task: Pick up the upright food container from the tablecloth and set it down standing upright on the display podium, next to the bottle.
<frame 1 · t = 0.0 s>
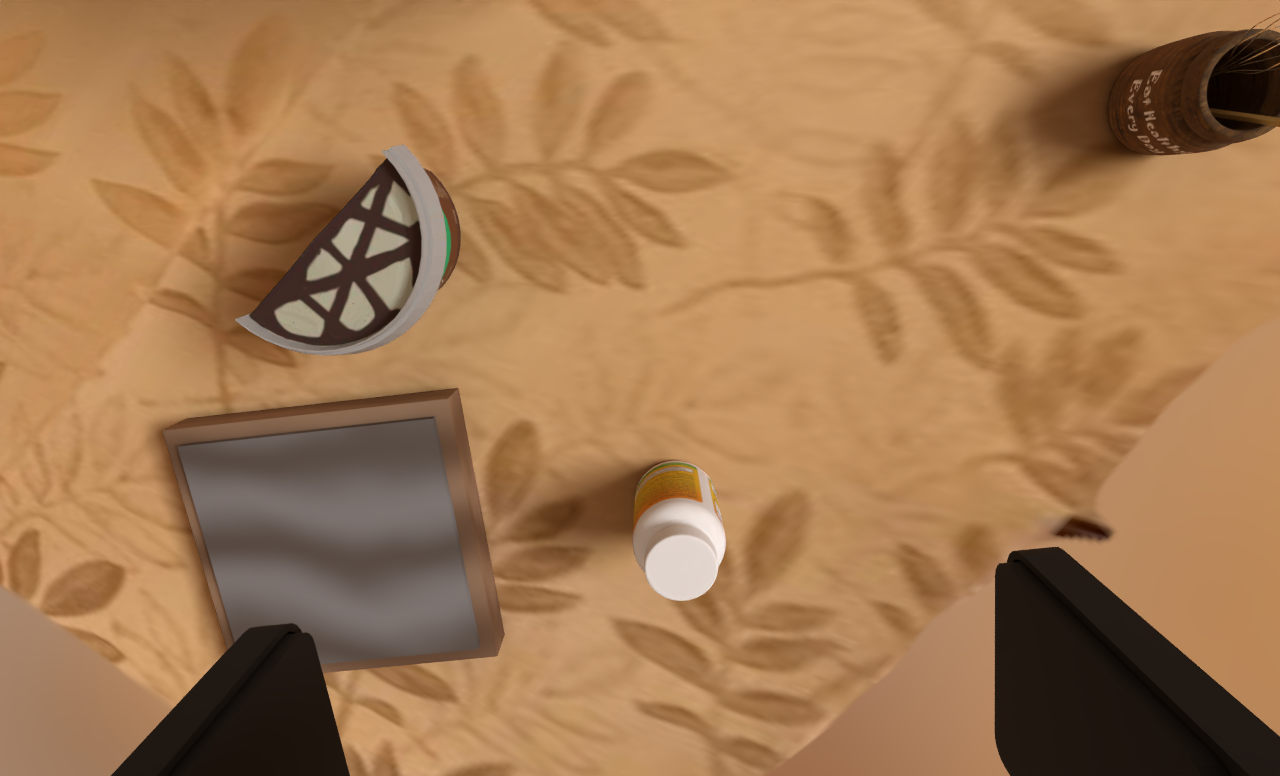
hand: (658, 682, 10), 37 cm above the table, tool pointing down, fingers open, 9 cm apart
food container: (420, 264, 45), on the table
supplement bottle: (675, 495, 49), on the table
podium: (351, 530, 50), on the table
utensil holder: (1154, 105, 42), on the table
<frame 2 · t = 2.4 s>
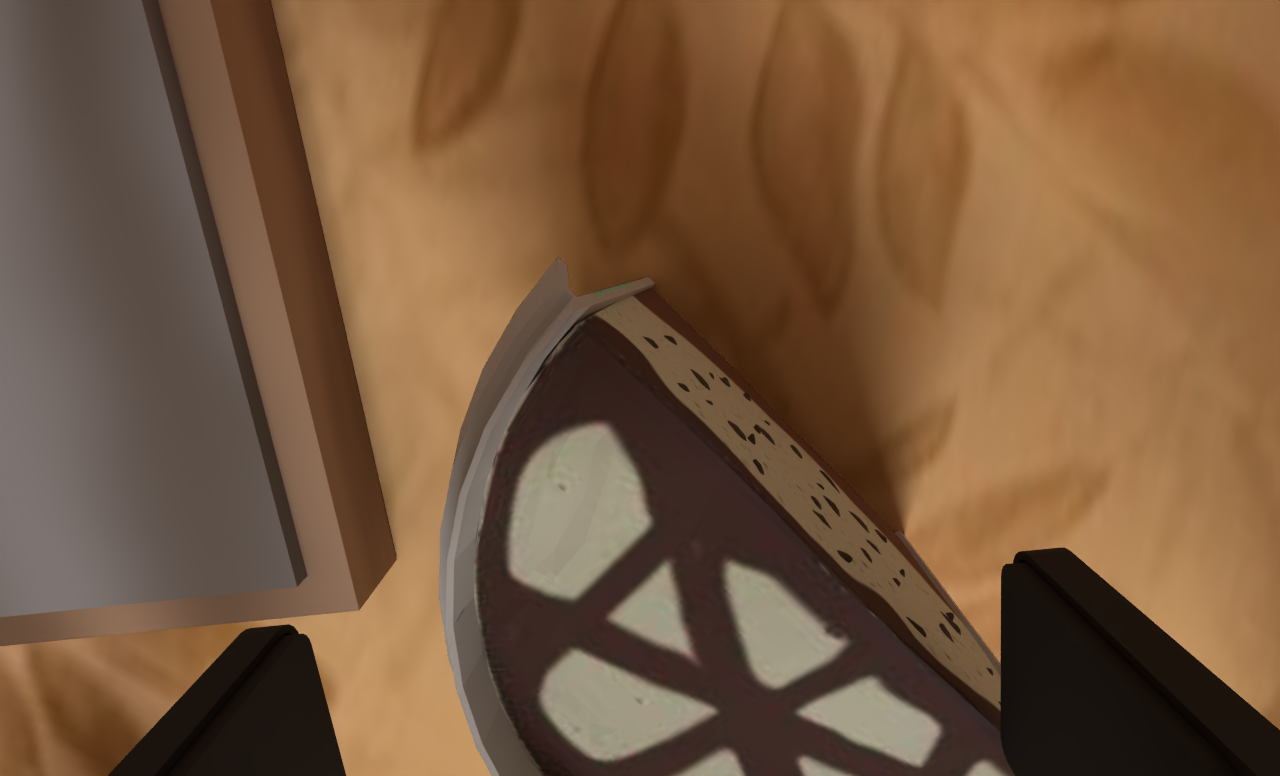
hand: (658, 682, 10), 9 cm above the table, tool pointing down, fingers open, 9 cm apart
food container: (691, 485, 19), on the table, touching gripper
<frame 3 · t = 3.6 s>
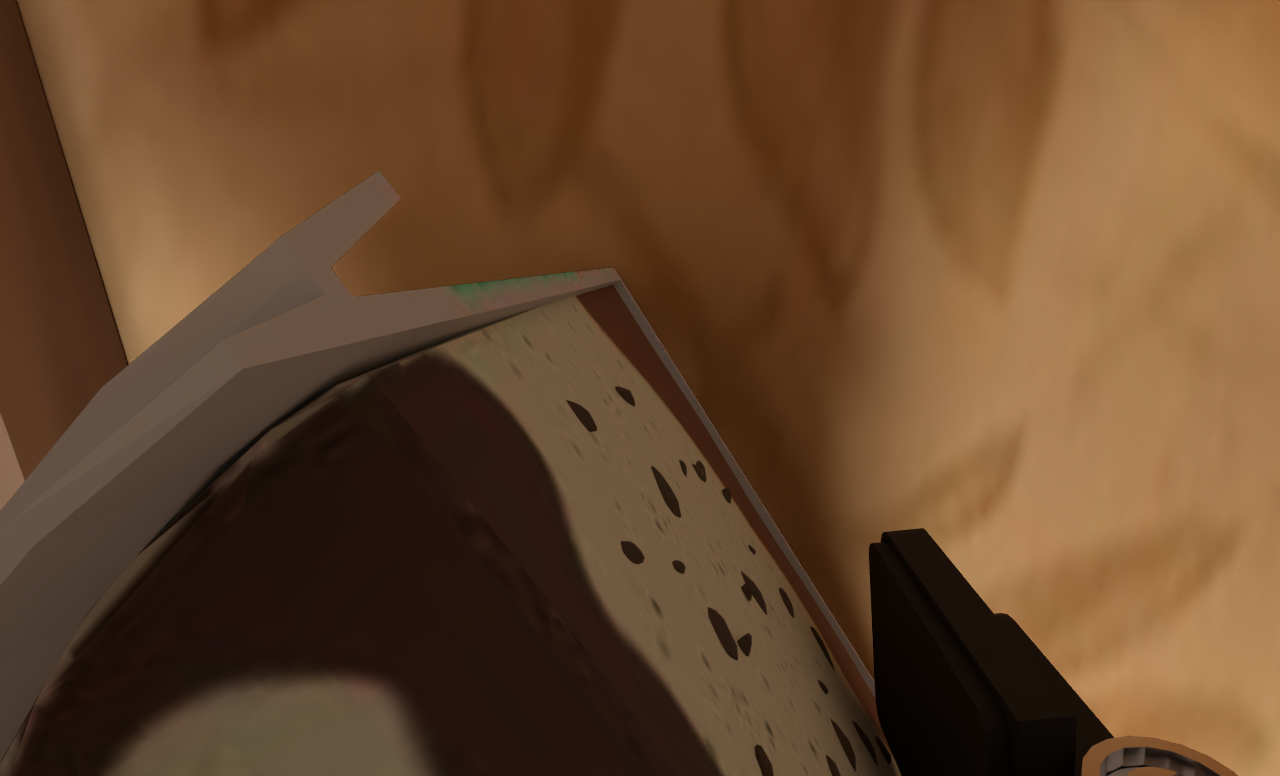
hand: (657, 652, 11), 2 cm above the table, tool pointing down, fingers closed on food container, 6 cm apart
food container: (610, 576, 13), on the table, touching gripper
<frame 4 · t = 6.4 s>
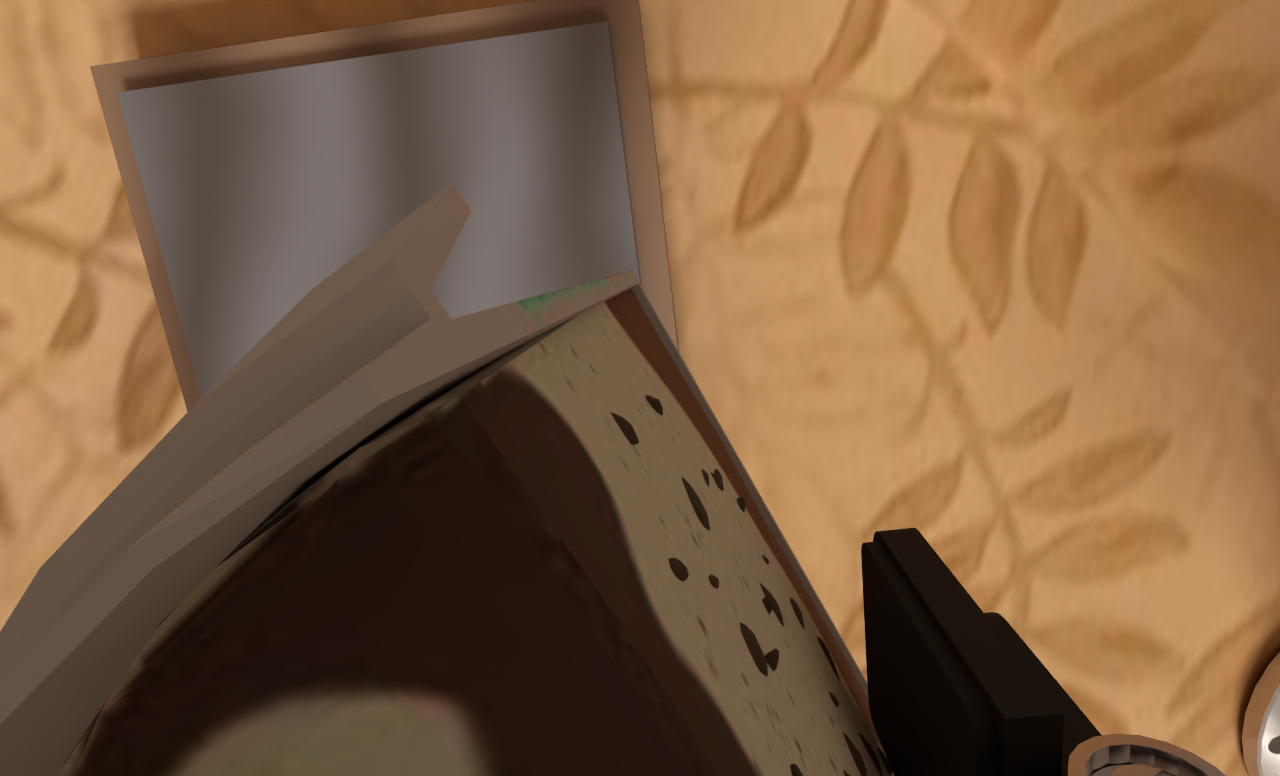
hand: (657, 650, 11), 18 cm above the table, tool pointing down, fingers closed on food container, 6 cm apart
food container: (613, 578, 13), point 16 cm above the table, touching gripper
podium: (434, 297, 28), on the table
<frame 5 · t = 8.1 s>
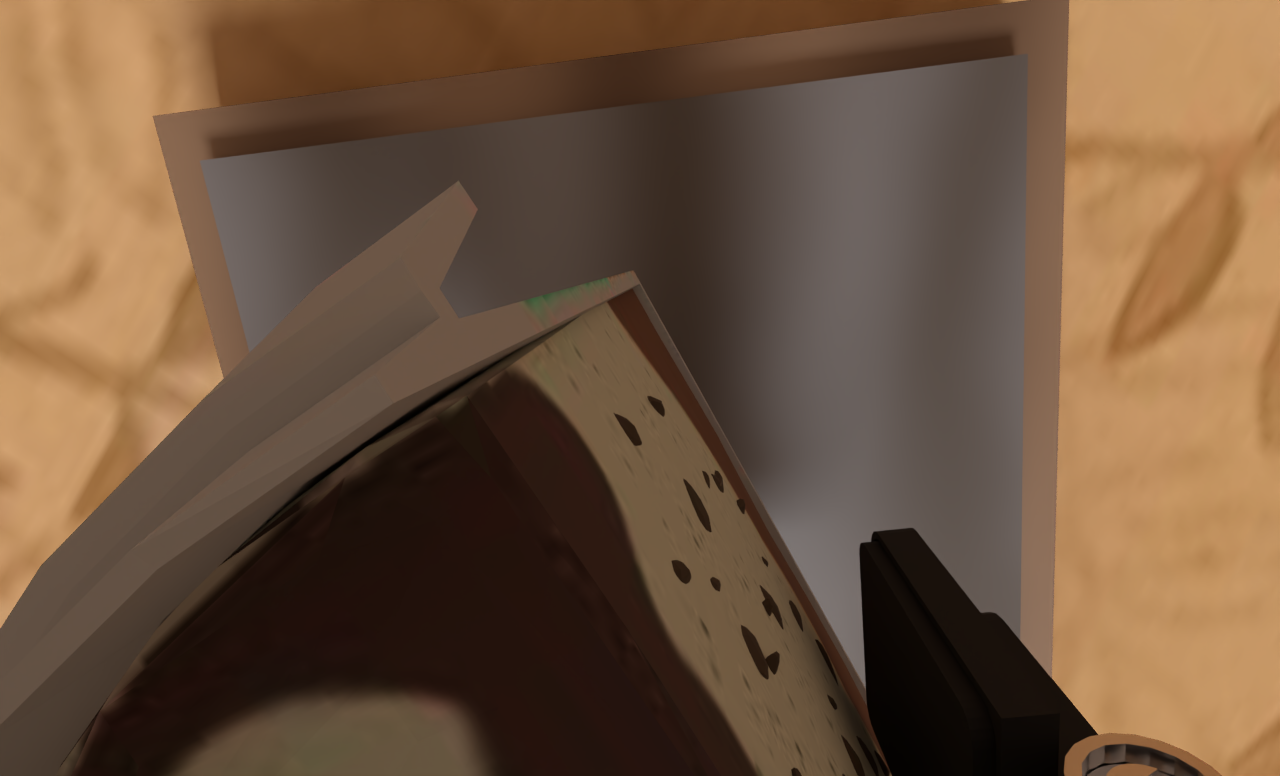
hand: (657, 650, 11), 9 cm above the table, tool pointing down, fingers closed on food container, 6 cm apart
food container: (611, 578, 13), point 6 cm above the table, touching gripper
podium: (651, 448, 19), on the table
when the fingers open (6 cm above the table, at t = 9.0 s): food container stays where it is, resting on podium.
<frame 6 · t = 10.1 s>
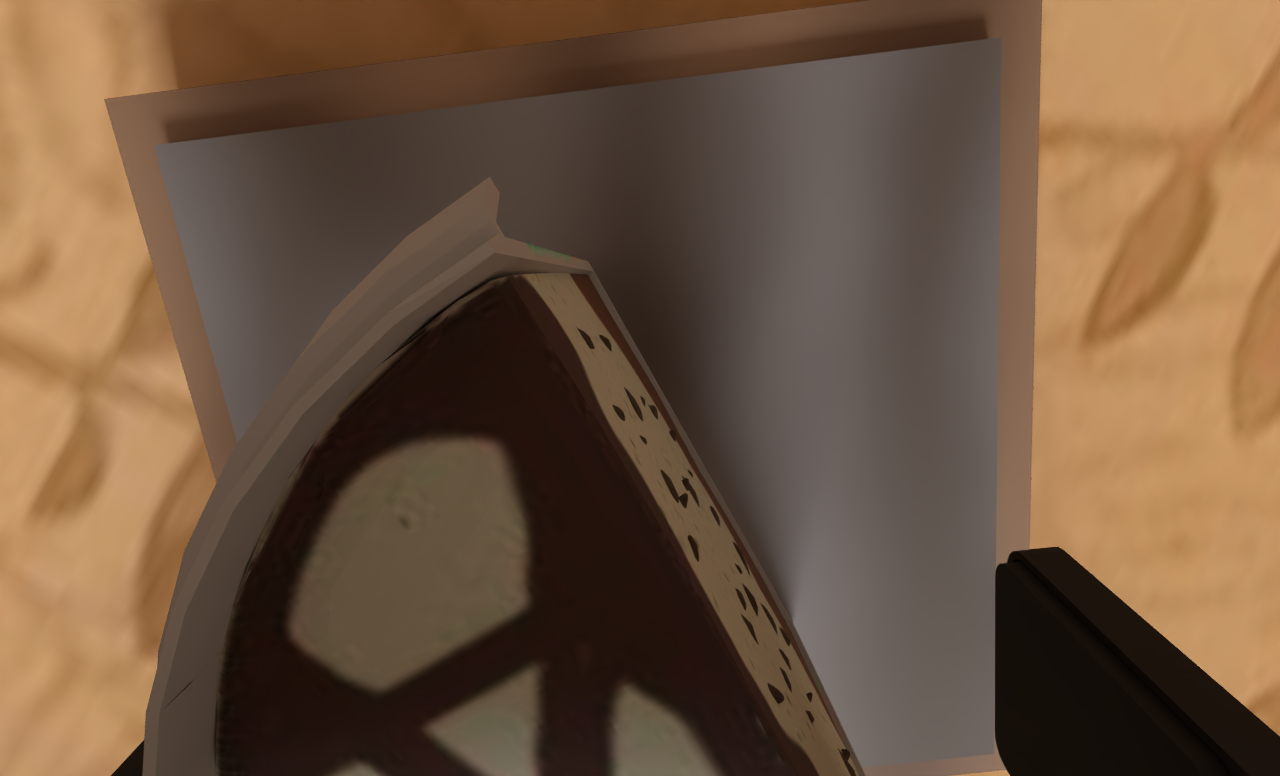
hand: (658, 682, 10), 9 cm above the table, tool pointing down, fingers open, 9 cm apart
food container: (573, 518, 16), point 3 cm above the table, touching podium
podium: (626, 440, 19), on the table
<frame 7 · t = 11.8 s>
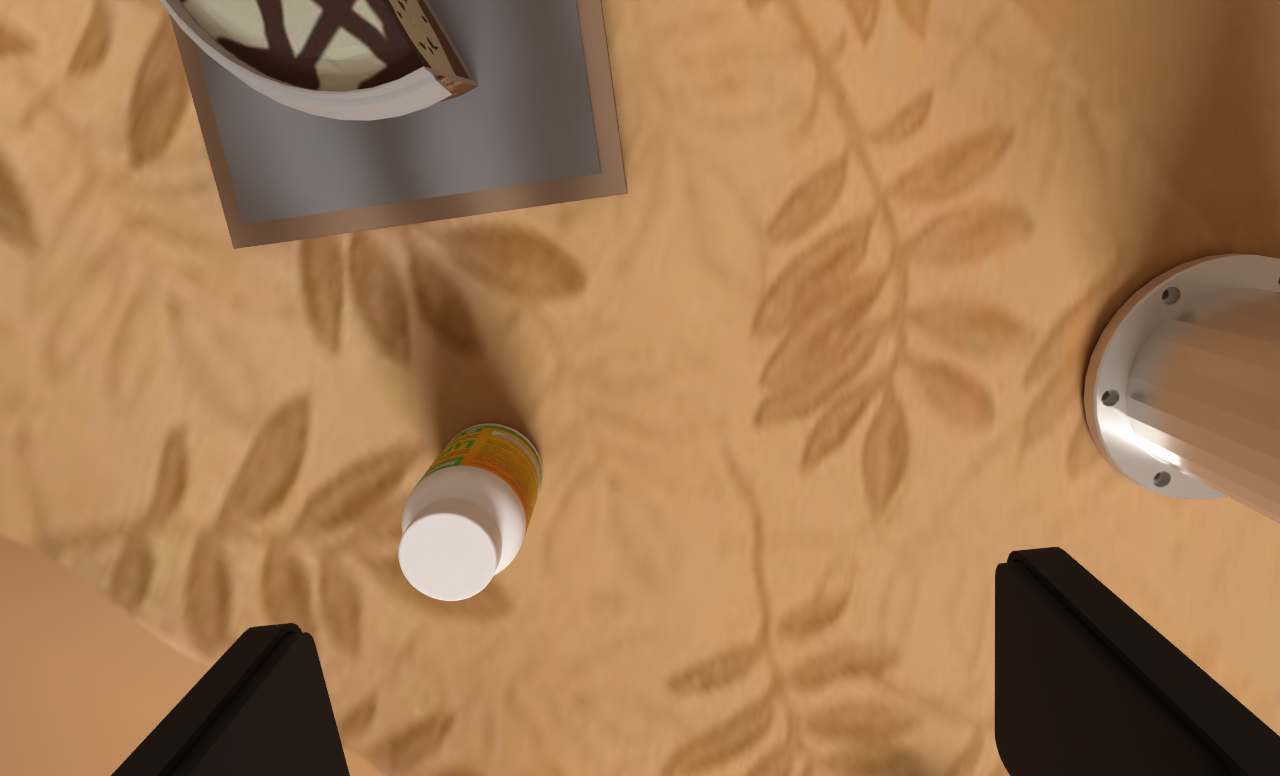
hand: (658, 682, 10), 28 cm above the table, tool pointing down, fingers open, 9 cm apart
food container: (356, 22, 31), point 3 cm above the table, touching podium
supplement bottle: (493, 468, 39), on the table
podium: (402, 16, 33), on the table
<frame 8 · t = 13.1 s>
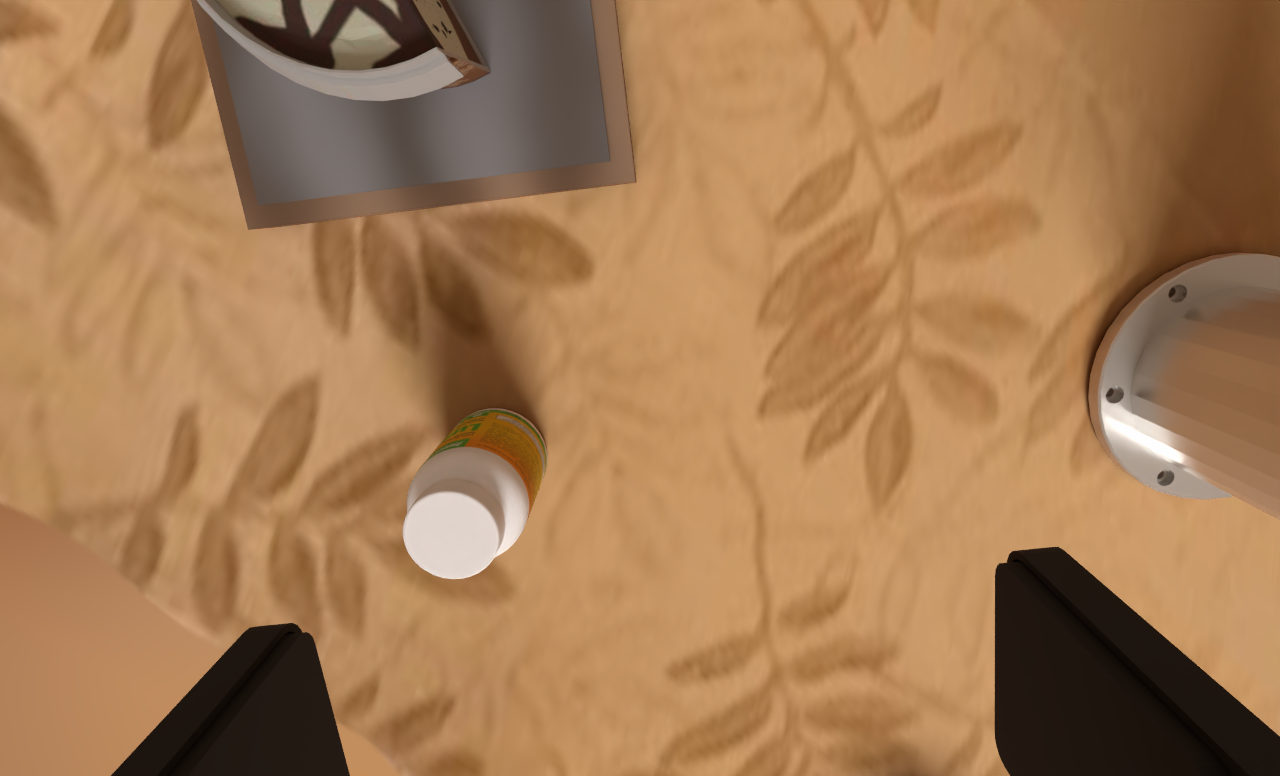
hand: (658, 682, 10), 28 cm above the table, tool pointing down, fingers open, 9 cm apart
food container: (372, 8, 31), point 3 cm above the table, touching podium
supplement bottle: (499, 452, 39), on the table
podium: (417, 4, 34), on the table
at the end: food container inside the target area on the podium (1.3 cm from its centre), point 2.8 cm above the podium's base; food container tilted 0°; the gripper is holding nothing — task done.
